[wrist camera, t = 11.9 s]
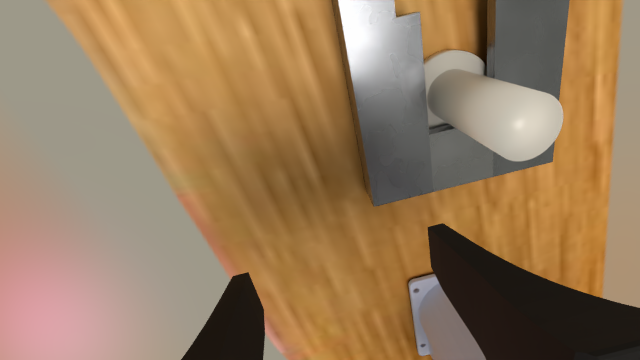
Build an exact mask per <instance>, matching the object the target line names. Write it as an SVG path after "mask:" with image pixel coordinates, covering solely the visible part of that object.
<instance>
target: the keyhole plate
mask: <svg viewBox="0 0 640 360" xmlns="http://www.w3.org/2000/svg"><path fill="white" fill-rule="evenodd" d="M332 4H333V10H334V15H335V21H336V26H337V32H338V37H339V43H340V48H341V54H342V59H343V65H344V70H345V76H346V81H347V87H348V92H349V98H350V104H351V109H352V115H353V120H354V126H355V131H356V137H357V142H358V148H359V153H360V159H361V164H362V170H363V175H364V181H365V186H366V192H367V194H368V196H369V198H370V200H371V202H372V204H373V206H374V207H375V206H379V205H383V204H387V203H391V202H395V201H399V200H403V199H407V198H411V197H415V196H419V195H423V194H427V193H431V192H435V191H439V190H442V189H446V188H450V187H454V186H458V185H462V184H466V183H470V182H474V181H478V180H482V179H486V178H490V177H494V176H498V175H502V174H506V173H510V172H514V171H518V170H522V169H526V168H530V167H534V166H538V165H542V164H546V163H550V162H553V152H554V143H555V141H554V142H553V143H552V145H551V146H550V147H549V148H548V149H547V150H545V151H544V152H543V153H542V154H540V155H538V156H537V157H535V158H532V159H530V160H526V161H511V160H508V159H505V158H504V157H502V156H501V155H499V154H497V153H496V152H494V151H492V150H491V149H489V148H488V147H486V146H484V145H483V144H481V143H479V142H478V141H476V140H474V139H473V138H471V137H470V136H468V135H466V134H465V133H463V132H461V131H460V130H458V129H457V128H455V127H453V126H452V125H450V124H449V125H445V126H441V127H437V128H433V129H429V125H428V112H427V99H426V86H425V73H424V60H423V47H422V34H421V21H420V12H412V13H408V14H404V15H400V16H396V13H395V4H394V0H332ZM568 9H569V0H487V77H490V78H494V79H497V80H501V81H505V82H508V83H512V84H516V85H519V86H523V87H527V88H530V89H534V90H538V91H541V92H545V93H548V94H551V95H552V96H554V97H555V98H556V99H557V100H558V101H559V95H560V85H561V76H562V66H563V57H564V47H565V38H566V28H567V19H568Z"/></svg>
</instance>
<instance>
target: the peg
mask: <svg viewBox="0 0 640 360" xmlns="http://www.w3.org/2000/svg"><path fill="white" fill-rule="evenodd" d="M424 73H425V86H426V99H427V112H428V125H429V129H433V128H437V127H441V126H445V125H449V124H450V125H452V126H453V127H455V128H457V129H458V130H460V131H461V132H463V133H465V134H466V135H468V136H470V137H471V138H473V139H474V140H476V141H478V142H479V143H481V144H483V145H484V146H486V147H488V148H489V149H491V150H492V151H494V152H496V153H497V154H499V155H501V156H502V157H504V158H505V159H508V160H511V161H526V160H530V159H532V158H535V157H537V156H538V155H540V154H542V153H543V152H544V151H545V150H547V149H548V148H549V147H550V146H551V145H552V143H553V142H554V141H555V139H556V138H557V136H558V134H559V132H560V130H561V127H562V123H563V110H562V107H561V104H560V102H559V101H558V100H557V99H556V98H555V97H554V96H552V95H551V94H548V93H545V92H541V91H538V90H534V89H530V88H527V87H523V86H519V85H516V84H512V83H508V82H505V81H501V80H497V79H494V78H490V77H487V66H486V65H485V63H484V62H483V61H482V60H481V59H480V58H479V57H477V56H476V55H474V54H472V53H469V52H466V51H460V50H443V51H440V52H437V53H435V54H433V55H431V56H429V57H428V58H426V59H425V60H424Z"/></svg>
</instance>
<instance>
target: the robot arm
mask: <svg viewBox="0 0 640 360" xmlns="http://www.w3.org/2000/svg"><path fill="white" fill-rule="evenodd" d="M428 236H429V247H430V258H431V267H432V269H433V271H434V274H431V275H427V276H423V277H419V278H415V279H412V280H411V281H410V282H409V284H408V286H409V293H410V300H411V308H412V315H413V322H414V330H415V337H416V345H417V351H418V353H419V355H421V356H425V355H429V354H430V355H431V357H432V359H433V360H640V308H637V307H633V306H629V305H625V304H621V303H617V302H613V301H610V300H607V299H603V298H600V297H596V296H593V295H590V294H586V293H583V292H580V291H577V290H574V289H571V288H569V287H566V286H563V285H560V284H558V283H555V282H552V281H550V280H547V279H545V278H542V277H540V276H538V275H535V274H533V273H531V272H528V271H526V270H524V269H522V268H520V267H517V266H515V265H513V264H511V263H509V262H507V261H505V260H504V259H502V258H500V257H498V256H496V255H494V254H492V253H490V252H489V251H487V250H485V249H484V248H482V247H480V246H478V245H477V244H475V243H473V242H472V241H470V240H469V239H467V238H465V237H464V236H462V235H461V234H459V233H457V232H456V231H454V230H453V229H451V228H450V227H448V226H446V225H445V224H443V223H442V224H438V225H434V226H430V227H428ZM416 288H417V289H416ZM414 289H415V290H414ZM264 338H265V326H264V309H263V306H262V304H261V301H260V299H259V297H258V294H257V292H256V290H255V287H254V285H253V282H252V280H251V278H250V275H249V273H244V274H240V275H236V276H233V277H232V279H231V280H230V282H229V284H228V286H227V288H226V290H225V291H224V293H223V295H222V297H221V299H220V300H219V302H218V304H217V305H216V307H215V309H214V311H213V312H212V314H211V316H210V318H209V319H208V321H207V322H206V324H205V326H204V327H203V329H202V330H201V332H200V333H199V335H198V336H197V338H196V339H195V341H194V342H193V344H192V345H191V347H190V348H189V350H188V351H187V352H186V354H185V355H184V356H183V358H182V359H181V360H263V351H264Z"/></svg>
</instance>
